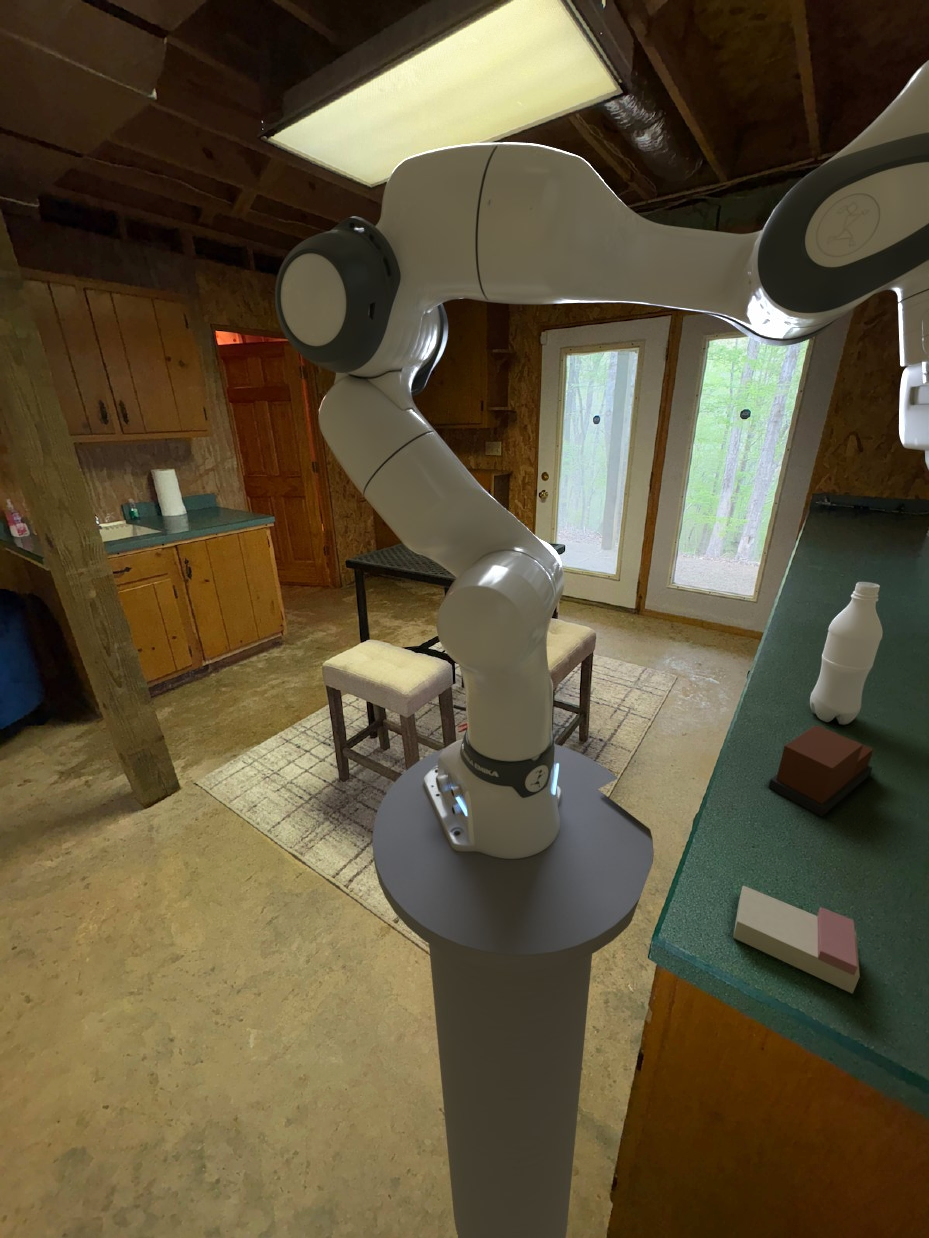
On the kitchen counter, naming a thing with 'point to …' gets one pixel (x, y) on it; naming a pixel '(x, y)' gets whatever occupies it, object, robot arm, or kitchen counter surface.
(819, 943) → the cream rectangular block
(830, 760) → the brown block on base
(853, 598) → the water bottle
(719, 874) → the kitchen counter surface
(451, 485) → the robot arm
